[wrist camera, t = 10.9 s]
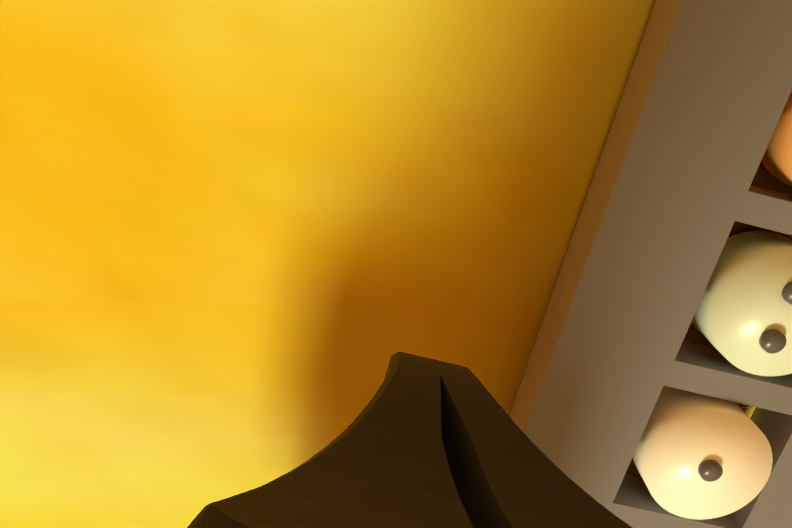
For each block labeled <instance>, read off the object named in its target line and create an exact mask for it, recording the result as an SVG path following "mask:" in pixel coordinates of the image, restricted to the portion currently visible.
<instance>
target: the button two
mask: <svg viewBox="0 0 792 528" xmlns="http://www.w3.org/2000/svg"><path fill="white" fill-rule="evenodd" d="M692 323H693V325H694V326H695V327H696V328H697V330H698V331H699V332H700V333H701V334H702V335H703V336H704V337H705V338H706V339H707V340H708V341H709V342H710V343H711V344H712V345H713V346H714V347H715V348H716V349H717V350H718V351H719V352H720V353H721V354H722V355H723V356H724V357H725V358H726V359H727V360H728V361H729V362H730V363H731V364H733V365H734V366H736V367H737V368H739V369H741V370H743V371H745V372H747V373H751V374H754V375H759V376H782V375H787V374H791V373H792V240H790V239H788V238H786V237H784V236H782V235H780V234H777V233H773V232H768V231H748V232H743V233H739V234H736V235H733V236H731V237H728V238H727V241H726V243H725V245H724V248H723V250H722V252H721V254H720V257H719V259H718V261H717V264H716V266H715V268H714V271H713V273H712V275H711V278H710V280H709V282H708V284H707V287H706V289H705V291H704V294H703V296H702V298H701V301H700V303H699V305H698V307H697V310H696V312H695V314H694V317H693V319H692Z"/></svg>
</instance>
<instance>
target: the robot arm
mask: <svg viewBox="0 0 792 528" xmlns="http://www.w3.org/2000/svg"><path fill="white" fill-rule="evenodd" d="M187 528H633V527H631V526H630V525H628V524H627V523H625V522H624V521H623V520H621V519H620V518H618V517H617V516H616V515H614V514H613V513H612V512H610V511H609V510H608V509H606V508H605V507H604V506H602V505H601V504H600V503H599V502H597V501H596V500H595V499H594V498H593V497H591V496H590V495H589V494H588V493H587V492H585V491H584V490H583V489H582V488H581V487H579V486H578V485H577V484H576V483H575V482H574V481H572V480H571V479H570V478H569V477H568V476H567V475H566V474H564V473H563V472H562V471H561V470H560V469H559V468H558V467H557V466H556V465H555V464H554V463H553V462H552V461H551V460H550V459H549V458H548V457H547V456H546V455H545V454H544V453H543V452H542V451H541V450H540V449H539V448H538V447H537V446H536V445H535V444H534V443H533V442H532V441H531V440H530V439H529V438H528V437H527V436H526V435H525V434H524V432H523V431H522V430H521V429H520V428H519V427H518V426H517V425H516V424H515V422H514V421H513V420H512V419H511V418H510V417H509V416H508V414H507V413H506V412H505V411H504V410H503V409H502V407H501V406H500V405H499V404H498V403H497V401H496V400H495V399H494V398H493V397H492V395H491V394H490V393H489V392H488V391H487V389H486V388H485V387H484V386H483V385H482V383H481V382H480V381H479V380H478V379H477V378H476V376H475V375H474V374H473V373H472V372H471V371H470V370H469V369H468V368H467V367H463V366H459V365H455V364H450V363H446V362H442V361H437V360H433V359H429V358H424V357H420V356H416V355H411V354H407V353H403V352H398V353H396V354H394V355H392V356H391V359H390V362H389V366H388V370H387V373H386V377H385V380H384V382H383V383H382V385H381V387H380V388H379V390H378V391H377V393H376V394H375V396H374V397H373V399H372V400H371V401H370V403H369V404H368V405H367V406H366V407H365V409H364V410H363V411H362V412H361V413H360V415H359V416H358V417H357V418H356V419H355V420H354V421H353V423H352V424H351V425H350V426H349V427H348V428H347V429H346V430H345V431H344V432H343V433H341V434H340V435H339V436H338V437H337V438H336V439H335V440H334V441H332V442H331V443H330V444H329V445H328V446H327V447H325V448H324V449H323V450H321V451H320V452H318V453H317V454H316V455H314V456H313V457H312V458H310V459H309V460H308V461H306V462H305V463H303V464H302V465H300V466H299V467H297V468H295V469H294V470H292V471H290V472H288V473H286V474H284V475H282V476H281V477H279V478H277V479H275V480H273V481H271V482H269V483H267V484H266V485H263V486H261V487H258V488H256V489H253V490H250V491H247V492H244V493H241V494H238V495H235V496H232V497H229V498H226V499H224V500H220V501H217V502H213V503H210V504H209V505H207V506H205V507H204V508H203V510H202V511H201V512H200V513H199V514H198V515H197V516H196V518H195V519H194V520H193V521H192V523H191V524H190V525H189V526H188V527H187Z"/></svg>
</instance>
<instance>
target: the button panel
mask: <svg viewBox="0 0 792 528" xmlns="http://www.w3.org/2000/svg"><path fill="white" fill-rule="evenodd" d="M791 91H792V0H655V3H654V6H653V9H652V12H651V14H650V17H649V20H648V23H647V26H646V29H645V31H644V34H643V37H642V40H641V43H640V46H639V48H638V51H637V54H636V57H635V60H634V63H633V65H632V68H631V71H630V74H629V77H628V80H627V82H626V85H625V88H624V91H623V94H622V97H621V99H620V102H619V105H618V108H617V111H616V114H615V116H614V119H613V122H612V125H611V128H610V131H609V133H608V136H607V139H606V142H605V145H604V148H603V150H602V153H601V156H600V159H599V162H598V165H597V167H596V170H595V173H594V176H593V179H592V182H591V184H590V187H589V190H588V193H587V196H586V199H585V201H584V204H583V207H582V210H581V213H580V216H579V218H578V221H577V224H576V227H575V230H574V233H573V235H572V238H571V241H570V244H569V247H568V250H567V252H566V255H565V258H564V261H563V264H562V267H561V269H560V272H559V275H558V278H557V281H556V284H555V286H554V289H553V292H552V295H551V298H550V301H549V303H548V306H547V309H546V312H545V315H544V318H543V321H542V323H541V326H540V329H539V332H538V335H537V338H536V340H535V343H534V346H533V349H532V352H531V355H530V357H529V360H528V363H527V366H526V369H525V372H524V374H523V377H522V380H521V383H520V386H519V389H518V391H517V394H516V397H515V400H514V403H513V406H512V408H511V411H510V414H509V417H510V418H511V419H512V420H513V421H514V422H515V424H516V425H517V426H518V427H519V428H520V429H521V430H522V431H523V432H524V434H525V435H526V436H527V437H528V438H529V439H530V440H531V441H532V442H533V443H534V444H535V445H536V446H537V447H538V448H539V449H540V450H541V451H542V452H543V453H544V454H545V455H546V456H547V457H548V458H549V459H550V460H551V461H552V462H553V463H554V464H555V465H556V466H557V467H558V468H559V469H560V470H561V471H562V472H563V473H564V474H566V475H567V476H568V477H569V478H570V479H571V480H572V481H574V482H575V483H576V484H577V485H578V486H579V487H581V488H582V489H583V490H584V491H585V492H587V493H588V494H589V495H590V496H591V497H593V498H594V499H595V500H596V501H597V502H599V503H600V504H601V505H602V506H604V507H605V508H606V509H608V510H609V511H610V512H612V513H613V514H614V515H616V516H617V517H618V518H620V519H621V520H623V521H624V522H625V523H627V524H628V525H630V526H631V527H633V528H792V373H791V374H787V375H782V376H759V375H754V374H751V373H747V372H745V371H743V370H741V369H739V368H737V367H736V366H734V365H733V364H731V363H730V362H729V361H728V360H727V359H726V358H725V357H724V356H723V355H722V354H721V353H720V352H719V351H718V350H717V349H716V348H713V347H709V346H705V345H701V344H696V343H692V342H688V341H684V337H685V335H686V333H687V331H688V328H689V326H690V324H691V321H692V319H693V317H694V314H695V312H696V310H697V307H698V305H699V303H700V301H701V298H702V296H703V294H704V291H705V289H706V287H707V284H708V282H709V280H710V278H711V275H712V273H713V271H714V268H715V266H716V264H717V261H718V259H719V257H720V254H721V252H722V250H723V248H724V245H725V243H726V241H727V238H728V236H729V234H730V231H731V229H732V227H733V224H734V222H735V221H737V222H741V223H745V224H749V225H753V226H757V227H761V228H765V229H769V230H773V231H777V232H780V233H784V234H788V235H792V196H790V195H786V194H782V193H778V192H775V191H771V190H767V189H763V188H759V187H755V186H751V183H752V181H753V178H754V176H755V174H756V171H757V169H758V167H759V165H760V162H761V160H762V158H763V155H764V153H765V151H766V148H767V146H768V144H769V142H770V139H771V137H772V135H773V132H774V130H775V128H776V125H777V123H778V121H779V118H780V116H781V114H782V112H783V109H784V107H785V105H786V102H787V100H788V98H789V95H790V93H791ZM663 386H668V387H672V388H677V389H681V390H685V391H690V392H694V393H698V394H702V395H707V396H711V397H715V398H719V399H724V400H728V401H732V402H737V403H741V404H745V405H749V406H754V407H757V409H756V411H755V413H754V415H753V417H752V419H751V420H752V421H753V422H754V423H755V425H756V426H757V427H758V428H759V429H760V430H761V431H762V433H763V434H764V435H765V436H766V438H767V440H768V441H769V444H770V446H771V450H772V458H773V462H772V469H771V473H770V476H769V478H768V481H767V482H766V484H765V486H764V487H763V489H762V490H761V491H760V493H759V494H758V495H757V496H756V497H755V498H754V499H753V500H752V501H751V502H749V503H748V504H747V505H745V506H744V507H742V508H741V509H739V510H737V511H735V512H733V513H730V514H728V515H725V516H722V517H718V518H713V519H702V520H699V519H688V518H683V517H680V516H677V515H674V514H672V513H670V512H668V511H667V510H665V509H664V508H662V507H661V506H660V505H659V504H658V503H657V502H656V501H655V500H654V498H653V497H652V495H651V493H650V492H649V490H648V488H647V486H646V484H645V482H644V480H643V478H642V477H641V476H637V475H633V474H628V473H626V471H627V469H628V467H629V464H630V462H631V460H632V457H633V455H634V453H635V450H636V448H637V446H638V443H639V441H640V439H641V437H642V434H643V432H644V430H645V427H646V425H647V423H648V420H649V418H650V416H651V414H652V411H653V409H654V407H655V404H656V402H657V400H658V397H659V395H660V393H661V390H662V388H663Z"/></svg>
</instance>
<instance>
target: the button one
mask: <svg viewBox="0 0 792 528" xmlns="http://www.w3.org/2000/svg"><path fill="white" fill-rule="evenodd" d="M632 460H633V462H634V463H635V465H636V467H637V469H638V471H639V473H640V475H641V477H642V478H643V480H644V482H645V484H646V486H647V488H648V490H649V492H650V493H651V495H652V497H653V498H654V500H655V501H656V502H657V503H658V504H659V505H660V506H661V507H662V508H664V509H665V510H667V511H668V512H670V513H672V514H674V515H677V516H680V517H683V518H688V519H699V520H702V519H713V518H718V517H722V516H725V515H728V514H730V513H733V512H735V511H737V510H739V509H741V508H742V507H744V506H745V505H747V504H748V503H749V502H751V501H752V500H753V499H754V498H755V497H756V496H757V495H758V494H759V493H760V491H761V490H762V489H763V487H764V486H765V484H766V482H767V481H768V478H769V476H770V473H771V469H772V462H773V458H772V450H771V446H770V444H769V441H768V440H767V438H766V436H765V435H764V434H763V433H762V431H761V430H760V429H759V428H758V427H757V426H756V425H755V423H754V422H753V421H752V420H751V419H750V418H749V417H748V416H747V415H746V413H745V412H744V411H743V410H742V409H741V408H740V407H739V406H738V404H737V403H736V402H732V401H728V400H724V399H719V398H715V397H711V396H707V395H702V394H698V393H694V392H690V391H685V390H681V389H677V388H672V387H668V386H664V387H663V388H662V390H661V393H660V395H659V397H658V400H657V402H656V404H655V407H654V409H653V411H652V414H651V416H650V418H649V420H648V423H647V425H646V427H645V430H644V432H643V434H642V437H641V439H640V441H639V443H638V446H637V448H636V450H635V453H634V455H633V457H632Z"/></svg>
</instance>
